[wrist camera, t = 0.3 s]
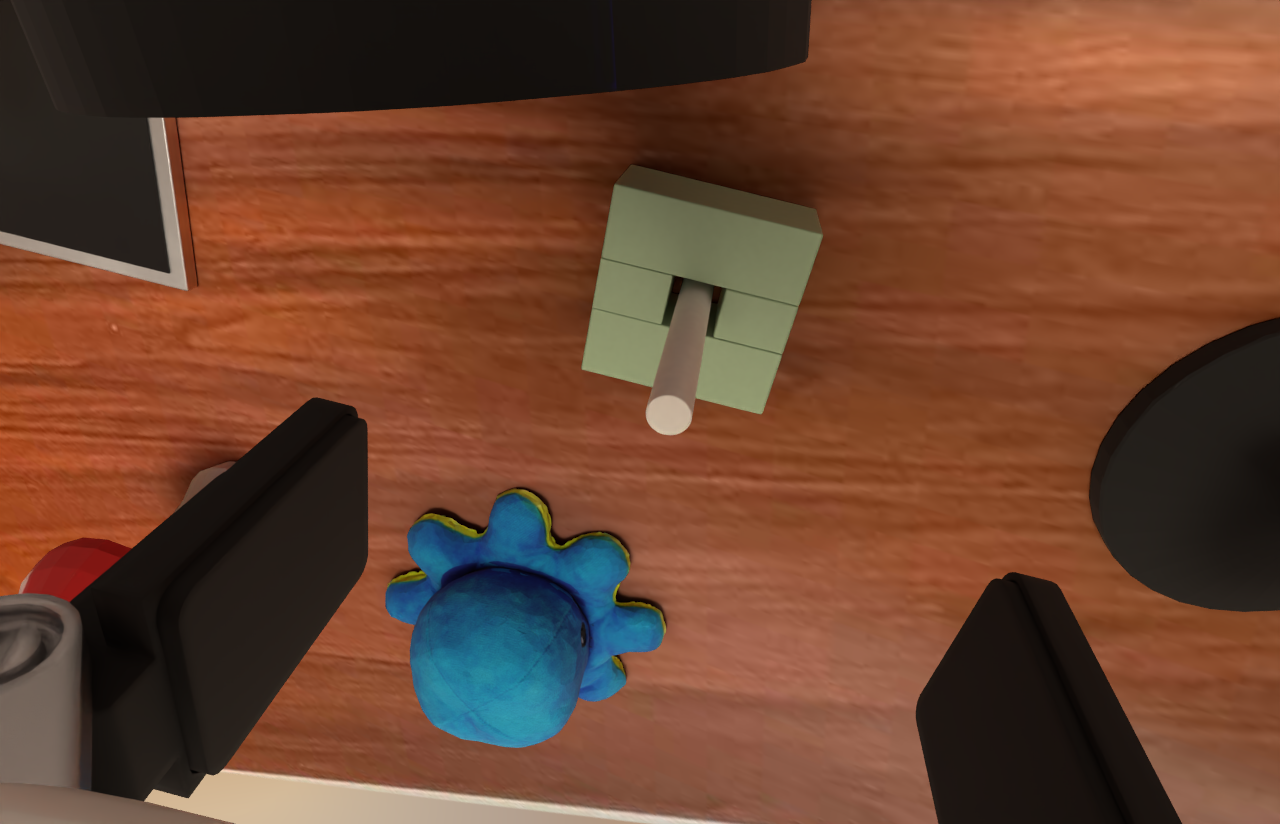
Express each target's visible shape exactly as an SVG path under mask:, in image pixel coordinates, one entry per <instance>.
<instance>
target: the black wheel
mask: <svg viewBox="0 0 1280 824" xmlns="http://www.w3.org/2000/svg"><path fill="white" fill-rule="evenodd" d="M811 1H812V0H11V3H12V5H13V8H14V10H15V13H16V15H17V17H18V20H19V22H20V25H21V27H22V29H23V32H24V34H25V37H26V39H27V41H28V44H29V46H30V49H31V51H32V53H33V56H34V58H35V61H36V63H37V65H38V68H39V70H40V73H41V75H42V77H43V80H44V82H45V85H46V87H47V89H48V92H49V94H50V97H51V99H52V101H53V104H54V106H55V109H56V110H58V111H61V112H66V113H71V114H78V115H85V116H97V117H123V118H179V117H219V116H249V115H277V114H307V113H331V112H354V111H372V110H389V109H406V108H422V107H437V106H453V105H466V104H478V103H491V102H503V101H515V100H526V99H537V98H548V97H560V96H571V95H581V94H592V93H602V92H613V91H623V90H633V89H643V88H653V87H662V86H671V85H680V84H688V83H696V82H703V81H711V80H719V79H727V78H735V77H741V76H747V75H753V74H759V73H765V72H770V71H774V70H778V69H782V68H786V67H789V66H793V65H796V64H799V63H803V62H805V61H806V59H807V58H808V48H809V32H810V16H811Z"/></svg>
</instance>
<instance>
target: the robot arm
mask: <svg viewBox="0 0 1280 824" xmlns="http://www.w3.org/2000/svg"><path fill="white" fill-rule="evenodd" d="M367 558H368V441H367V423H366V421H365V420H364V419H361V418H358V414H357V411H356V409H355V408H354V407H352V406H349V405H345V404H341V403H337V402H333V401H329V400H325V399H321V398H312V399H310V400H309V401H307V402H306V403H305V404H304V405H303V406H301V407H300V408H299V409H298V410H297V411H296V412H294V413H293V414H292V415H291V416H290V417H289V418H287V419H286V420H285V421H284V422H283V423H282V424H280V425H279V426H278V427H277V428H276V429H274V430H273V431H272V432H271V433H270V434H269V435H267V436H266V437H265V438H264V439H263V440H262V441H260V442H259V443H258V444H257V445H256V446H255V447H253V448H252V449H251V450H250V451H249V452H248V453H246V454H245V455H244V456H243V457H242V458H241V459H239V460H238V461H237V462H236V463H235V464H234V465H232V466H231V467H230V468H229V469H228V470H226V471H225V472H223V473H222V474H220V475H219V476H217V477H216V478H215V479H213V480H212V481H211V482H210V483H209V484H207V485H206V486H205V487H204V488H203V489H202V490H200V491H199V492H198V493H197V494H196V495H195V496H193V497H192V498H191V499H190V500H189V501H187V502H186V503H185V504H184V505H183V506H182V507H180V508H179V509H178V510H177V511H176V512H175V513H173V514H172V515H171V516H170V517H169V518H168V519H166V520H165V521H164V522H163V523H162V524H160V525H159V526H158V527H157V528H156V529H155V530H153V531H152V532H151V533H150V534H149V535H148V536H146V537H145V538H144V539H143V540H142V541H140V542H139V543H138V544H137V545H136V546H135V547H133V548H132V549H131V550H130V551H129V552H128V553H126V554H125V555H124V556H123V557H122V558H120V559H119V560H118V561H117V562H116V563H115V564H113V565H112V566H111V567H110V568H109V569H108V570H106V571H105V572H104V573H103V574H102V575H100V576H99V577H98V578H97V579H96V580H95V581H93V582H92V583H91V584H90V585H89V586H88V587H86V588H85V589H84V590H83V591H82V592H80V593H79V594H78V595H77V596H76V597H75V598H73V599H72V600H71V601H70V602H68V601H67V600H64V599H61V598H58V597H55V596H53V595H48V594H34V593H24V594H16V595H7V596H1V597H0V824H234V823H230V822H225V821H222V820H218V819H214V818H209V817H206V816H201V815H198V814H193V813H189V812H185V811H181V810H177V809H173V808H169V807H165V806H161V805H157V804H153V803H149V802H144V800H145V799H146V798H147V796H148V795H149V794H150V793H151V791H152V790H153V789H155V790H159V791H163V792H167V793H170V794H174V795H178V796H181V797H185V798H189V797H190V795H191V794H192V793H193V791H194V790H195V789H196V787H197V786H198V785H199V783H200V782H201V780H202V779H203V778H204V776H205V775H206V774H209V775H215V774H218V773H219V772H220V771H221V770H222V769H223V768H224V767H225V766H226V765H227V763H228V762H229V761H230V759H231V758H232V756H233V755H234V754H235V752H236V751H237V749H238V748H239V747H240V745H241V744H242V742H243V741H244V740H245V738H246V737H247V735H248V734H249V733H250V731H251V730H252V728H253V727H254V726H255V724H256V723H257V721H258V720H259V719H260V717H261V716H262V714H263V713H264V711H265V710H266V709H267V707H268V706H269V704H270V703H271V702H272V700H273V699H274V697H275V696H276V695H277V693H278V692H279V690H280V689H281V688H282V686H283V685H284V683H285V682H286V681H287V679H288V678H289V676H290V675H291V674H292V672H293V671H294V669H295V668H296V667H297V665H298V664H299V662H300V661H301V660H302V658H303V657H304V655H305V654H306V653H307V651H308V650H309V648H310V647H311V645H312V644H313V643H314V641H315V640H316V638H317V637H318V636H319V634H320V633H321V631H322V630H323V629H324V627H325V626H326V624H327V623H328V622H329V620H330V619H331V617H332V616H333V615H334V613H335V612H336V610H337V609H338V608H339V606H340V605H341V603H342V602H343V601H344V599H345V598H346V596H347V595H348V594H349V592H350V591H351V589H352V588H353V587H354V585H355V584H356V582H357V581H358V580H359V578H360V576H361V575H362V573H363V571H364V568H365V565H366V562H367ZM916 722H917V727H918V731H919V736H920V741H921V745H922V750H923V754H924V759H925V764H926V768H927V773H928V777H929V782H930V786H931V791H932V796H933V800H934V805H935V809H936V814H937V819H938V823H939V824H1182V823H1181V821H1180V819H1179V817H1178V815H1177V813H1176V811H1175V809H1174V807H1173V805H1172V803H1171V801H1170V799H1169V797H1168V796H1167V794H1166V792H1165V790H1164V788H1163V786H1162V784H1161V782H1160V780H1159V778H1158V776H1157V774H1156V772H1155V770H1154V769H1153V767H1152V765H1151V763H1150V761H1149V759H1148V757H1147V755H1146V753H1145V751H1144V749H1143V747H1142V745H1141V743H1140V742H1139V740H1138V738H1137V736H1136V734H1135V732H1134V730H1133V728H1132V726H1131V724H1130V722H1129V720H1128V718H1127V716H1126V715H1125V713H1124V711H1123V709H1122V707H1121V705H1120V703H1119V701H1118V699H1117V697H1116V695H1115V693H1114V691H1113V689H1112V688H1111V686H1110V684H1109V682H1108V680H1107V678H1106V676H1105V674H1104V672H1103V670H1102V668H1101V666H1100V664H1099V662H1098V661H1097V659H1096V657H1095V655H1094V653H1093V651H1092V649H1091V647H1090V645H1089V643H1088V641H1087V639H1086V637H1085V635H1084V634H1083V632H1082V630H1081V628H1080V626H1079V624H1078V622H1077V620H1076V618H1075V616H1074V614H1073V612H1072V610H1071V608H1070V607H1069V605H1068V603H1067V601H1066V599H1065V597H1064V595H1063V593H1062V591H1061V589H1060V588H1059V587H1058V585H1057V584H1055V583H1053V582H1051V581H1047V580H1043V579H1039V578H1035V577H1031V576H1027V575H1024V574H1020V573H1016V572H1012V573H1008V574H1007V575H1005V576H1004V577H1003V579H994V580H992V581H991V582H990V583H989V584H988V586H987V587H986V589H985V591H984V592H983V594H982V595H981V597H980V599H979V600H978V602H977V604H976V605H975V607H974V608H973V610H972V612H971V613H970V615H969V617H968V618H967V620H966V621H965V623H964V625H963V626H962V628H961V629H960V631H959V633H958V634H957V636H956V638H955V639H954V641H953V642H952V644H951V646H950V647H949V649H948V651H947V652H946V654H945V655H944V657H943V659H942V660H941V662H940V664H939V665H938V667H937V668H936V670H935V672H934V673H933V675H932V677H931V678H930V680H929V681H928V683H927V685H926V686H925V688H924V690H923V691H922V693H921V694H920V697H919V699H918V702H917V707H916Z"/></svg>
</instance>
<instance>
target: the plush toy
mask: <svg viewBox="0 0 1280 824" xmlns="http://www.w3.org/2000/svg"><path fill="white" fill-rule="evenodd" d="M550 529H551V517H550V514H549V513H548V510H547V506H546V505H545V504H544V503H543V502H542V501H541V500H540V499H539V498H538V497H537V496H535V495H534V494H532V493H530V492H528V491H527V490H523V489H522V490H521V491H520V489H518V490H517V489H516V488H514V489H510V490H509V491H508V490H507V491H504V492H503V493H502V494H500V495H498V496H497V498H496V502H495V503H494V505H493V508H492V511H491V514H490V517H489V524H488V527H487V529H486V530H485V532H484V533H482V534H477V532H476V531H475V530H473V529H469V528H467V527H465V526H463V525H460V524H459V523H457V521H454V520H453V519H452V518H448V517H444V516H440V515H436V514H433V513H431V514H426V515H424V516H422V517H421V518H420V519H419V520H417V521H416V522H415V523H414V525H413V526H412V527H411V528H410V530H409V532H408V535H407V538H408V551H409V553H410V555H411V557H412V559H413V560H414V561H415V562H416V564H417V565H418V566H419V567H420V568H421V570H422V571H420V572H418V573H417V572H409V573H408V574H406V575H401V576H399V577H397V578H395V579H393V580H391V582H390V584H388V587H387V591H386V609H387V611H388V612H389V614H390V615H391V617H394V618H396V619H398V620H400V621H402V622H405V623H409V624H413V625H415V627H414V630H413V633H412V639H411V647H410V664H411V670H412V676H413V685H414V689H415V692H416V695H417V698H418V700H419V703H420V705H421V708H422V710H423V712H424V713H425V715H426V716H427V718H428V719H429V720H430V721H431V723H432V724H433V725H435V726H436V727H438V728H440V729H442V730H444V731H446V732H448V733H450V734H452V735H455V736H457V737H459V738H461V739H466V740H473V741H480V742H484V743H489V744H494V745H499V746H504V747H526V746H530V745H534V744H537V743H540V742H543V741H545V740H547V739H548V738H550V737H552V736H554V735H556V734H557V733H558V732H559V731H560V730H561V729H562V728H563V727H564V725H565V724H566V723H567V721H568V719H569V717H570V715H571V714H572V712H573V710H574V708H575V706H576V703H577V699H578V697H579V698H581V699H584V700H587V701H600V700H603V699H606V698H608V697H611V696H612V695H614V694H615V693H616V692H617V691H619V690H620V689H621V688H622V687H623V686H624V685H625V684H626V676H625V671H624V669H623V666H622V663H620V660H619V659H617V657H614V655H618V654H622V653H626V652H648V651H652V650H655V649H657V648H658V647H659V646H660V644H661V643H662V639H663V637H664V634H665V632H666V624H665V622H664V620H663V616H662V612H661V611H660V610H659V609H656V608H655V607H654V606H653V607H652V606H651V605H650V604H644V603H642V602H637V603H635V602H634V601H633V602H629V603H619V602H616V598H615V596H616V592H617V589H618V588H619V586H620V582H621V581H622V580H624V579H625V577H626V576H627V574H628V573H629V570H630V560H629V555H630V554H629V553H628V552H627V550H626V549H625V548H624V546H623V545H621V543H620V541H619V540H617V539H616V538H614V537H613V536H611V535H609V534H607V533H604V534H603V533H601V532H598V533H588V534H584V535H580V536H579V537H578V538H574V539H573V540H572V541H568V542H566V543H565V545H564V546H560V545H558V544H556V543H555V540H554V538H553V537H551V533H550Z"/></svg>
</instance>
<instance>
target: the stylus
mask: <svg viewBox="0 0 1280 824" xmlns="http://www.w3.org/2000/svg"><path fill="white" fill-rule="evenodd" d="M713 289H714V285H711V284H707V283H703V282H699V281H695V280H691V279H687V278H684V279H683V282H682V286H681V289H680V293H679V296H678V300H677V303H676V307H675V310H674V314H673V317H672V321H671V324H670V328H669V331H668V335H667V338H666V342H665V345H664V349H663V352H662V356H661V359H660V363H659V366H658V370H657V373H656V377H655V380H654V384H653V387H652V391H651V394H650V398H649V401H648V405H647V408H646V419H647V421H648V423H649V425H650V426H651V427H652V428H653V429H654V430H655V431H657V432H659V433H661V434H665V435H676V434H679V433H681V432H683V431H684V430H686V429H687V428H688V426H689V425H690V423H691V420H692V415H693V409H694V403H695V397H696V391H697V385H698V379H699V373H700V367H701V361H702V355H703V349H704V343H705V337H706V331H707V325H708V319H709V313H710V307H711V301H712V295H713Z"/></svg>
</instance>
